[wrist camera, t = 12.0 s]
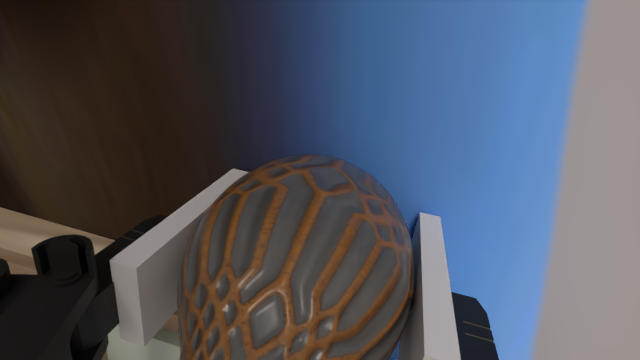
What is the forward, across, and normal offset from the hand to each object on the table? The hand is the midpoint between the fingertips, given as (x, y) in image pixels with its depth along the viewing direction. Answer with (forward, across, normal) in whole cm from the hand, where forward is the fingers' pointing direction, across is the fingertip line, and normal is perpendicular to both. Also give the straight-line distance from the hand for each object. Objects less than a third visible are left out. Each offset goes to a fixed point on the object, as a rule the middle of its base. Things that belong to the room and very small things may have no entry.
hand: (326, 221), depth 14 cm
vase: (+1, 0, 0) cm, 1 cm away
